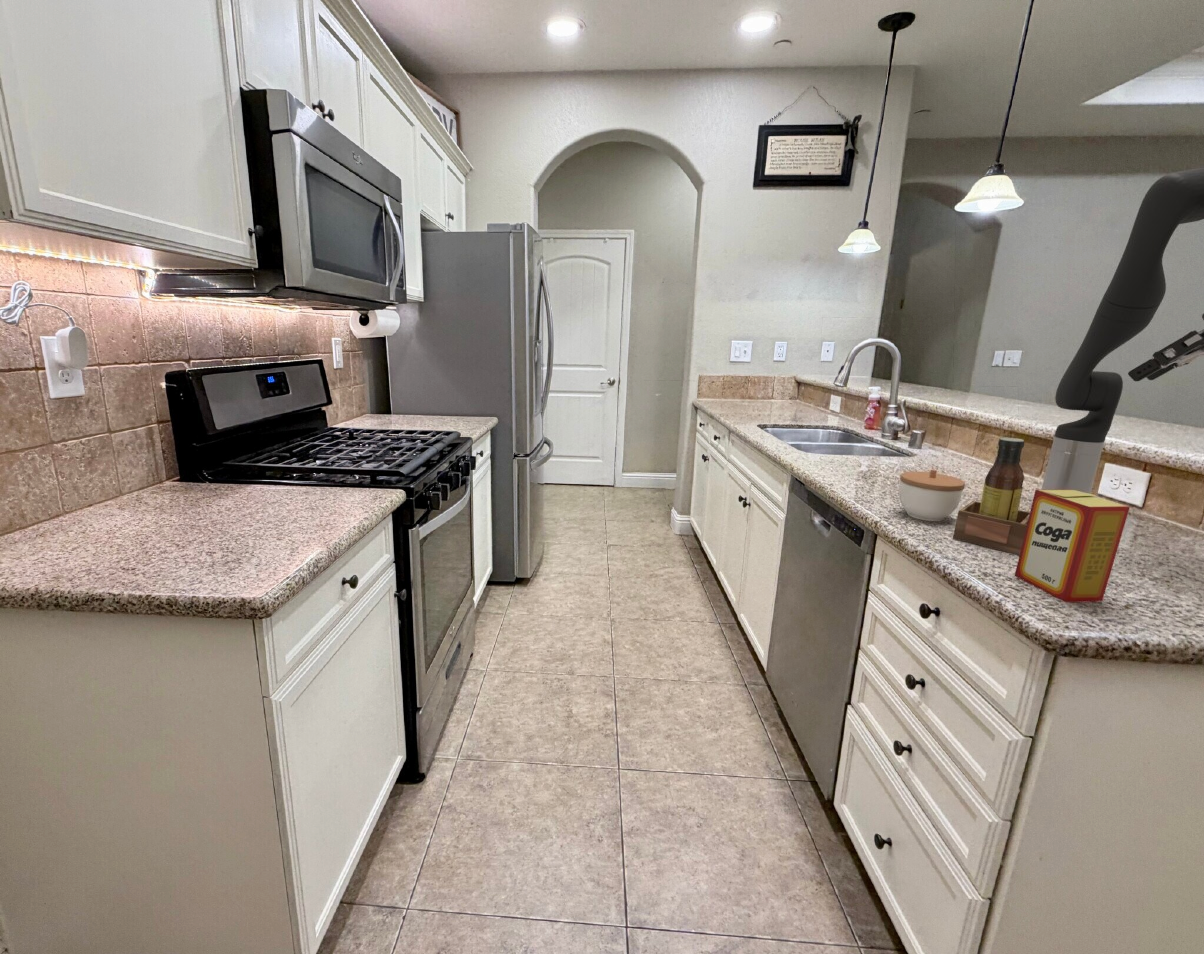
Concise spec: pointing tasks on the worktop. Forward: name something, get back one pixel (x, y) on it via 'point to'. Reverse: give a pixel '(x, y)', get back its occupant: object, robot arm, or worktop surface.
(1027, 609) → the worktop surface
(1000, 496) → the sauce bottle
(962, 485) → the white lidded bowl
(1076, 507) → the baking soda box
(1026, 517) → the wooden compartment tray
